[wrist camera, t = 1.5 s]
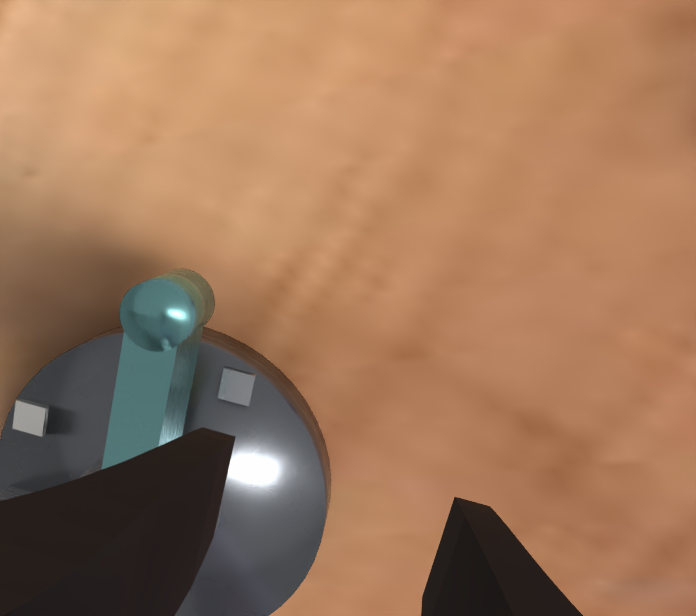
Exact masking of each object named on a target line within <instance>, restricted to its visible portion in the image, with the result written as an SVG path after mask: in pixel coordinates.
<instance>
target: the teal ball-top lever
mask: <svg viewBox="0 0 696 616" xmlns="http://www.w3.org/2000/svg"><path fill="white" fill-rule="evenodd" d="M214 306H215V299H214V294H213V291H212V289H211V287H210V285H209V284H208V282H207V281H206V280H205V279H204V278H203V277H202V276H201V275H199V274H198V273H196V272H194V271H191V270H187V269H175V270H171V271H169V272H166V273H164V274H161V275H159V276H157V277H154V278H152V279H149V280H147V281H145V282H142V283H140V284H137V285H136V286H134V287H132V288H131V289H130V290H129V291H128V292H127V293H126V295H125V296H124V298H123V300H122V302H121V306H120V321H121V325H122V327H123V330H124V335H123V341H122V348H121V354H120V360H119V366H118V372H117V378H116V384H115V390H114V396H113V402H112V408H111V415H110V421H109V427H108V433H107V439H106V445H105V451H104V455H102V456H101V457H100V458H99V459H98V460H97V461H96V462H95V463H94V464H93V465H92V466H91V467H90V468H88V469H87V470H86V471H85V472H84V473H83V474H82V475H81V476H80V477H79V478H81V477H83V476H86V475H89V474H91V473H94V472H97V471H99V470H102V469H105V468H108V467H110V466H113V465H116V464H118V463H121V462H124V461H126V460H128V459H131V458H133V457H135V456H138V455H140V454H142V453H145V452H147V451H149V450H151V449H154V448H156V447H158V446H161V445H163V444H165V443H167V442H169V441H172V440H174V439H176V438H178V437H180V436H182V433H183V428H184V423H185V418H186V413H187V408H188V403H189V397H190V392H191V387H192V382H193V377H194V372H195V367H196V362H197V357H198V352H199V347H200V342H201V336H202V331H203V326H204V325H205V324H206V323H207V322H208V321H209V320H210V318H211V316H212V314H213V311H214ZM220 515H221V506H220V510H219V515H218V519H217V524H216V529H215V532H216V530H217V527H218V524H219V521H220ZM214 534H215V533H214Z"/></svg>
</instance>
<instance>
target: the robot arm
mask: <svg viewBox="0 0 696 616" xmlns="http://www.w3.org/2000/svg"><path fill="white" fill-rule="evenodd" d="M235 438H236V436H232V435H229V434H225V433H221V432H218V431H214V430H211V429H207V428H203V427H202V428H199V429H196V430H194V431H192V432H189V433H187V434H185V435H183V436H180V437H178V438H176V439H174V440H172V441H169V442H167V443H165V444H163V445H161V446H158V447H156V448H154V449H151V450H149V451H147V452H145V453H142V454H140V455H138V456H135V457H133V458H131V459H128V460H126V461H124V462H121V463H118V464H116V465H113V466H110V467H108V468H105V469H102V470H99V471H97V472H94V473H91V474H89V475H86V476H83V477H81V478H78V479H75V480H72V481H69V482H66V483H63V484H60V485H57V486H54V487H50V488H47V489H44V490H40V491H36V492H33V493H29V494H25V495H21V496H18V497H14V498H10V499H6V500H2V501H0V616H175V614H176V613H177V611H178V609H179V608H180V606H181V604H182V603H183V601H184V599H185V597H186V596H187V594H188V592H189V591H190V589H191V587H192V585H193V583H194V580H195V578H196V576H197V574H198V572H199V569H200V567H201V565H202V563H203V560H204V558H205V556H206V553H207V551H208V549H209V547H210V544H211V542H212V540H213V537H214V533H215V529H216V524H217V519H218V515H219V510H220V506H221V501H222V497H223V492H224V488H225V483H226V479H227V474H228V469H229V465H230V460H231V456H232V451H233V447H234V442H235ZM421 616H583V615H582V614H581V613H580V612H579V611H578V610H577V609H576V607H575V606H574V605H573V604H572V603H571V602H570V601H569V600H568V599H567V598H566V596H565V595H564V594H563V593H562V592H561V591H560V590H559V588H558V587H557V586H556V585H555V584H554V583H553V581H552V580H551V579H550V578H549V577H548V576H547V574H546V573H545V572H544V571H543V570H542V568H541V567H540V566H539V565H538V564H537V562H536V561H535V560H534V559H533V558H532V556H531V555H530V554H529V553H528V551H527V550H526V549H525V548H524V546H523V545H522V544H521V543H520V542H519V540H518V539H517V538H516V537H515V535H514V534H513V533H512V532H511V530H510V529H509V528H508V527H507V525H506V524H505V523H504V522H503V521H502V519H501V518H500V517H499V516H498V515H497V514H496V512H495V511H494V510H493V509H492V508H491V507H490V506H486V505H483V504H479V503H476V502H472V501H468V500H465V499H461V498H457V497H455V498H454V501H453V504H452V507H451V510H450V513H449V516H448V519H447V522H446V525H445V528H444V532H443V535H442V538H441V541H440V544H439V547H438V550H437V553H436V556H435V559H434V562H433V565H432V569H431V572H430V575H429V578H428V581H427V584H426V587H425V590H424V593H423V597H422V612H421Z"/></svg>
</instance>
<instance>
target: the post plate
mask: <svg viewBox="0 0 696 616" xmlns="http://www.w3.org/2000/svg"><path fill="white" fill-rule="evenodd" d="M123 335H124V330H123V327H119V328H116V329H113V330H110V331H107V332H104V333H102V334H100V335H98V336H96V337H94V338H92V339H90V340H88V341H86V342H84V343H82V344H81V345H79V346H77V347H75V348H73V349H71V350H69V351H67V352H65V353H64V354H62V355H60V356H58V357H57V358H56V359H54V360H53V361H51V362H50V363H49V364H47V365H46V366H45V367H43V368H42V369H41V370H40V371H39V372H38V373H37V374H36V375H35V376H34V377H33V378H32V379H31V380H30V381H29V382H28V384H27V385H26V386H25V388H24V389H23V390H22V392H21V393H20V394H19V396H18V397H17V399H16V401H15V403H14V405H13V407H12V408H11V410H10V412H9V414H8V417H7V420H6V422H5V425H4V428H3V431H2V435H1V440H0V501H2V500H6V499H10V498H14V497H18V496H21V495H25V494H29V493H33V492H36V491H40V490H44V489H47V488H50V487H54V486H57V485H60V484H63V483H66V482H69V481H72V480H75V479H78V478H79V477H80V476H81V475H82V474H83V473H84V472H85V471H86V470H87V469H88V468H90V467H91V466H92V465H93V464H94V463H95V462H96V461H97V460H98V459H99V458H100V457H101V456H102V455H104V451H105V445H106V439H107V433H108V427H109V421H110V415H111V408H112V402H113V396H114V390H115V384H116V378H117V372H118V366H119V360H120V354H121V348H122V341H123ZM202 427H203V428H207V429H211V430H214V431H218V432H221V433H225V434H229V435H232V436H236V438H235V442H234V447H233V451H232V456H231V460H230V465H229V469H228V474H227V479H226V483H225V488H224V492H223V497H222V501H221V515H220V521H219V524H218V527H217V530H216V532H215V534H214V537H213V540H212V542H211V544H210V547H209V549H208V551H207V553H206V556H205V558H204V560H203V563H202V565H201V567H200V569H199V572H198V574H197V576H196V578H195V580H194V583H193V585H192V587H191V589H190V591H189V592H188V594H187V596H186V597H185V599H184V601H183V603H182V604H181V606H180V608H179V609H178V611H177V613H176V614H175V616H269V615H270V614H271V613H273V612H274V611H275V610H277V609H278V608H279V607H281V606H282V605H283V604H284V603H285V602H286V601H287V600H288V599H289V598H290V597H291V596H292V595H293V594H294V592H295V591H296V590H297V588H298V587H299V586H300V584H301V583H302V582H303V580H304V579H305V577H306V575H307V574H308V572H309V570H310V568H311V566H312V564H313V562H314V560H315V557H316V554H317V552H318V549H319V546H320V543H321V539H322V535H323V531H324V526H325V522H326V518H327V513H328V508H329V503H330V494H331V473H330V462H329V457H328V453H327V448H326V444H325V440H324V438H323V435H322V432H321V430H320V427H319V425H318V422H317V420H316V418H315V416H314V415H313V413H312V411H311V409H310V407H309V405H308V404H307V402H306V401H305V399H304V398H303V396H302V395H301V394H300V392H299V391H298V390H297V388H296V387H295V385H294V384H293V383H292V382H291V381H290V380H289V379H288V378H287V377H286V376H285V375H284V374H283V373H282V372H281V371H280V370H279V369H278V368H277V367H276V366H275V365H273V364H272V363H271V362H270V361H269V360H267V359H266V358H265V357H264V356H263V355H261V354H259V353H258V352H256V351H255V350H253V349H252V348H250V347H249V346H247V345H245V344H244V343H242V342H239V341H237V340H235V339H233V338H231V337H229V336H227V335H225V334H222V333H219V332H216V331H213V330H210V329H207V328H204V327H203V331H202V336H201V342H200V347H199V352H198V357H197V362H196V367H195V372H194V377H193V382H192V387H191V392H190V397H189V403H188V408H187V413H186V418H185V423H184V428H183V433H182V436H183V435H185V434H187V433H189V432H192V431H194V430H196V429H199V428H202Z"/></svg>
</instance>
